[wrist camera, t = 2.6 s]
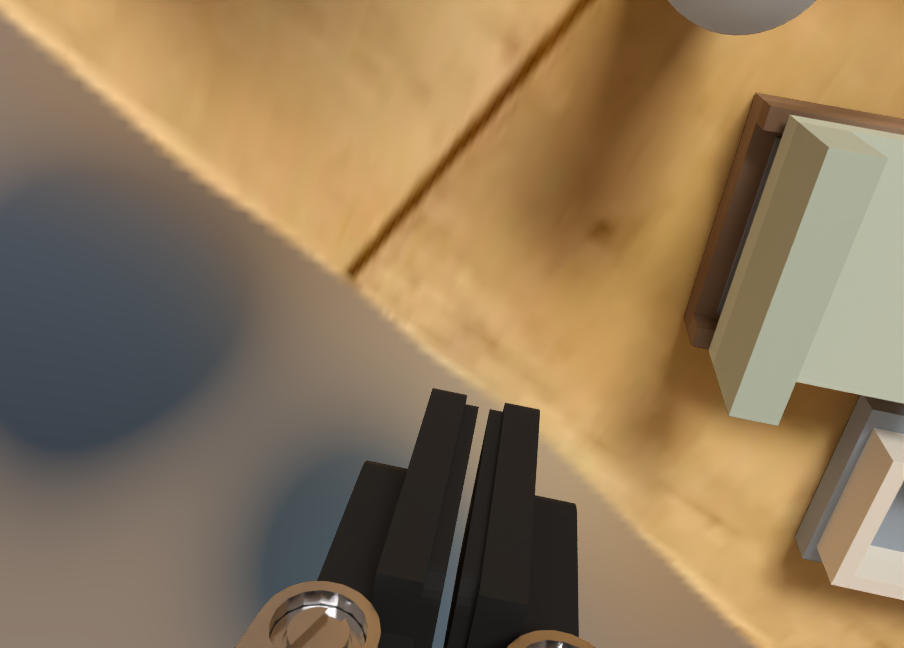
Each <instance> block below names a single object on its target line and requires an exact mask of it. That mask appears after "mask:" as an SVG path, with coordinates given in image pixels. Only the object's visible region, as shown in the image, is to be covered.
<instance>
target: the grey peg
mask: <svg viewBox="0 0 904 648" xmlns="http://www.w3.org/2000/svg"><path fill="white" fill-rule="evenodd" d="M815 1H816V0H668V2H669V3H670V4H671V5H672V6H673V7H674V8H675V9H676V10H677V11H678V12H679V13H680V14H682V15H683V16H684V17H685V18H687V19H688V20H689V21H691V22H693V23H694V24H696V25H698V26H699V27H702V28H704V29H707V30H709V31H712V32H716V33H720V34H727V35H749V34H755V33H760V32H764V31H767V30H771V29H773V28H776V27H778V26H780V25H783V24H785V23H786V22H788V21H790V20H792V19H793V18H795V17H797V16H798V15H799V14H801V13H802V12H803V11H805V10H806V9H807V8H809V7H810V6H811V5H812V4H813V3H814V2H815Z"/></svg>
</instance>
